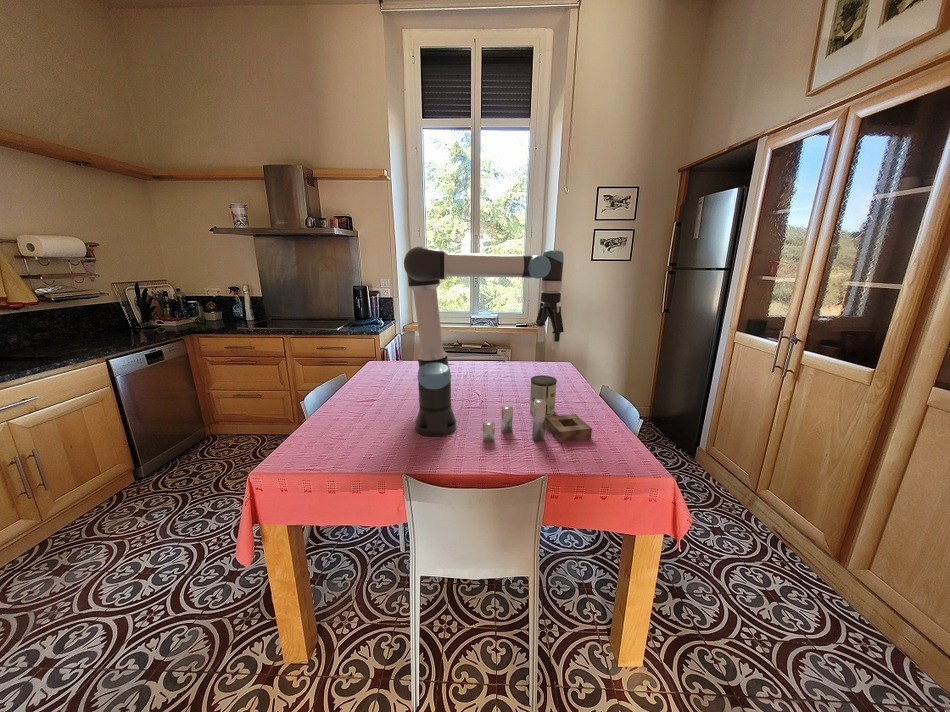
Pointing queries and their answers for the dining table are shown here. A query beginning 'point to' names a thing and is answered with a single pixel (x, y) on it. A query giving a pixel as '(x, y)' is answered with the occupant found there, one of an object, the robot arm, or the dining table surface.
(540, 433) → the long pin
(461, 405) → the dining table surface
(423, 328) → the robot arm
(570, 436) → the hole block
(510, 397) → the dining table surface
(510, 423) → the medium pin
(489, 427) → the short pin
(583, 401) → the dining table surface
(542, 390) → the coffee can
